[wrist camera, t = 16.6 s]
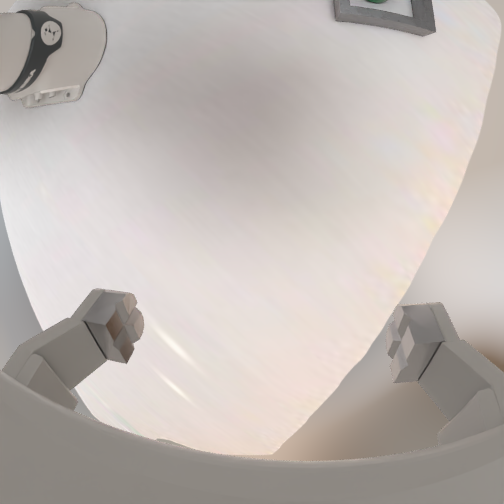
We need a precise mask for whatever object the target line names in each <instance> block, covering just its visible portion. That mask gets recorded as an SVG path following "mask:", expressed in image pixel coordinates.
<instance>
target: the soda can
mask: <svg viewBox="0 0 504 504" xmlns="http://www.w3.org/2000/svg"><path fill="white" fill-rule="evenodd" d="M368 1H371V2H375V3H382V2H385V1H387V0H368Z"/></svg>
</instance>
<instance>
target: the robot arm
mask: <svg viewBox="0 0 504 504" xmlns="http://www.w3.org/2000/svg"><path fill="white" fill-rule="evenodd" d="M105 44H106V27H105V24H104V21H103V19H102V18H101V16H100V15H99V14H97V13H96V12H94V11H90V10H85V9H83V8H82V7H81V6H80V5H79V4H78V3H71V4H69V5H68V6H66V7H55V6H46V7H42V8H41V9H40V10H39V11H37V10H31V9H30V10H21V11H18V12H16V13H0V94H7V95H8V97H9V98H10V99H11V100H12V101H14V100H18V99H21V101H22V104H23V105H24V107H25V108H32V107H37V106H43V105H49V104H56V103H63V102H71V101H77V100H78V99H79V98H80V96H81V94H82V91H83V88H84V86H85V83H86V81H87V80H88V79H89V77H90V76H91V75H92V74H93V72H94V71H95V69H96V68H97V66H98V64H99V62H100V60H101V58H102V55H103V52H104V48H105ZM69 93H70V96H69ZM136 304H137V300H136V298H135V296H134V294H132V293H128V292H121V291H114V290H105V289H99V288H96V289H93V290H92V291H91V292H90V294H89V295H88V296H87V297H86V299H85V300H84V301H83V302H82V304H81V305H80V306H79V307H78V309H77V310H76V311H75V313H74V314H73V315H72V317H71V318H66V319H64V320H62V321H60V322H59V323H57V324H55V325H53V326H52V327H50V328H48V329H46V330H45V331H43V332H41V333H40V334H38V335H36V336H34V337H32V338H31V339H29V340H27V341H26V342H24V343H22V344H21V345H19V346H18V348H17V349H16V351H15V352H14V353H13V355H12V356H11V357H10V359H9V361H8V362H7V363H6V365H5V366H4V368H3V369H2V371H1V370H0V504H504V373H503V372H502V371H501V370H500V369H499V368H498V367H496V366H495V365H494V364H493V363H491V361H489V360H488V359H487V358H486V357H484V356H483V355H482V354H481V353H480V352H478V351H477V350H476V349H475V348H473V347H472V346H471V345H470V344H468V343H467V342H466V341H465V340H460V339H459V337H458V335H457V332H456V330H455V328H454V326H453V324H452V322H451V320H450V318H449V316H448V314H447V312H446V310H445V308H444V306H443V304H442V303H440V302H436V303H426V304H425V303H423V304H398V305H397V306H396V307H395V309H394V312H393V317H394V321H393V322H392V323H391V324H389V326H388V329H387V332H386V349H387V354H388V355H389V356H390V357H391V358H392V359H393V360H392V362H391V364H390V368H391V373H392V377H393V382H394V383H401V382H413V381H418V383H419V385H420V386H421V387H422V388H423V389H424V391H425V392H426V393H427V394H428V395H429V397H430V398H431V399H432V400H433V401H434V403H435V404H436V405H437V406H438V408H439V409H440V410H441V411H442V412H443V414H444V415H445V416H446V418H447V419H448V420H449V421H450V422H449V423H448V424H446V425H445V426H444V427H443V428H442V429H441V430H440V431H439V433H438V434H437V436H438V442H439V445H438V446H435V447H430V448H426V449H421V450H417V451H411V452H406V453H400V454H394V455H387V456H380V457H372V458H363V459H351V460H335V461H284V460H283V461H282V460H267V459H255V458H245V457H236V456H229V455H222V454H216V453H210V452H205V451H199V450H194V449H189V448H184V447H180V446H176V445H172V444H168V443H164V442H160V441H156V440H153V439H149V438H146V437H142V436H139V435H136V434H133V433H130V432H127V431H124V430H121V429H118V428H115V427H112V426H110V425H107V424H104V423H102V422H99V421H96V420H94V419H91V418H89V417H87V416H85V415H82V414H80V413H77V412H75V411H74V409H75V407H76V405H77V403H78V401H77V398H76V397H75V396H74V395H73V394H72V393H71V391H70V390H71V389H73V388H74V387H75V386H76V385H78V384H79V383H80V382H81V381H82V380H84V379H85V378H86V377H87V376H89V375H90V374H91V373H92V372H93V371H95V370H96V369H97V368H98V367H100V366H101V365H102V364H103V363H105V362H106V361H107V360H112V361H116V362H121V363H126V364H127V362H128V360H129V358H130V357H131V355H132V353H133V351H134V345H133V343H134V342H136V341H138V340H139V339H140V337H141V335H142V333H143V329H144V319H143V316H142V313H141V312H140V311H139V310H138V309H137V308H136ZM106 359H107V360H106Z"/></svg>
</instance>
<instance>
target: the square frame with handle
mask: <svg viewBox="0 0 504 504" xmlns="http://www.w3.org/2000/svg"><path fill="white" fill-rule="evenodd" d="M411 3H412V9H413V17H414V18H412V17H408V16H404V15H400V14H396V13H391V12H386V11H381V10H376V9H370V8H364V7H357V6H350V1H349V0H334V8H335V19H336V21H342V22H351V23H359V24H366V25H373V26H379V27H384V28H389V29H394V30H399V31H403V32H408V33H412V34H416V35H420V36H426V35H429V34H432V33H435V32H436V28H435V20H434V13H433V6H432V0H411Z"/></svg>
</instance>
